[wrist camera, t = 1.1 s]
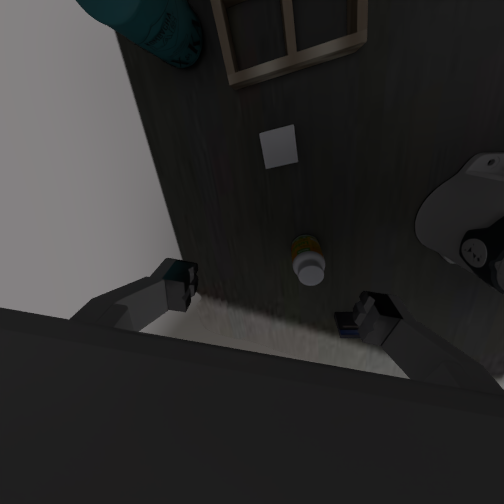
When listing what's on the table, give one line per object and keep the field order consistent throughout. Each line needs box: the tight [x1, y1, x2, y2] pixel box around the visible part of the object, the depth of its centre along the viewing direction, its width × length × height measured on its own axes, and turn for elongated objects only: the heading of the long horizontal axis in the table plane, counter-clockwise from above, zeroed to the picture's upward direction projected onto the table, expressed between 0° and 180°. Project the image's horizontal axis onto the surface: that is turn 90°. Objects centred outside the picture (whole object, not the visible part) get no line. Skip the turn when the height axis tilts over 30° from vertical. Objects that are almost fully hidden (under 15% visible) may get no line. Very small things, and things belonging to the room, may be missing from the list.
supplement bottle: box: [291, 235, 325, 286], centre depth 37 cm, size 5×5×10 cm
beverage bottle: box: [76, 0, 203, 69], centre depth 19 cm, size 6×7×20 cm
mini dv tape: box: [334, 312, 361, 338], centre depth 46 cm, size 8×2×6 cm, turn 98°
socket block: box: [211, 0, 368, 90], centre depth 23 cm, size 16×12×4 cm
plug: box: [259, 125, 298, 169], centre depth 29 cm, size 4×4×9 cm
